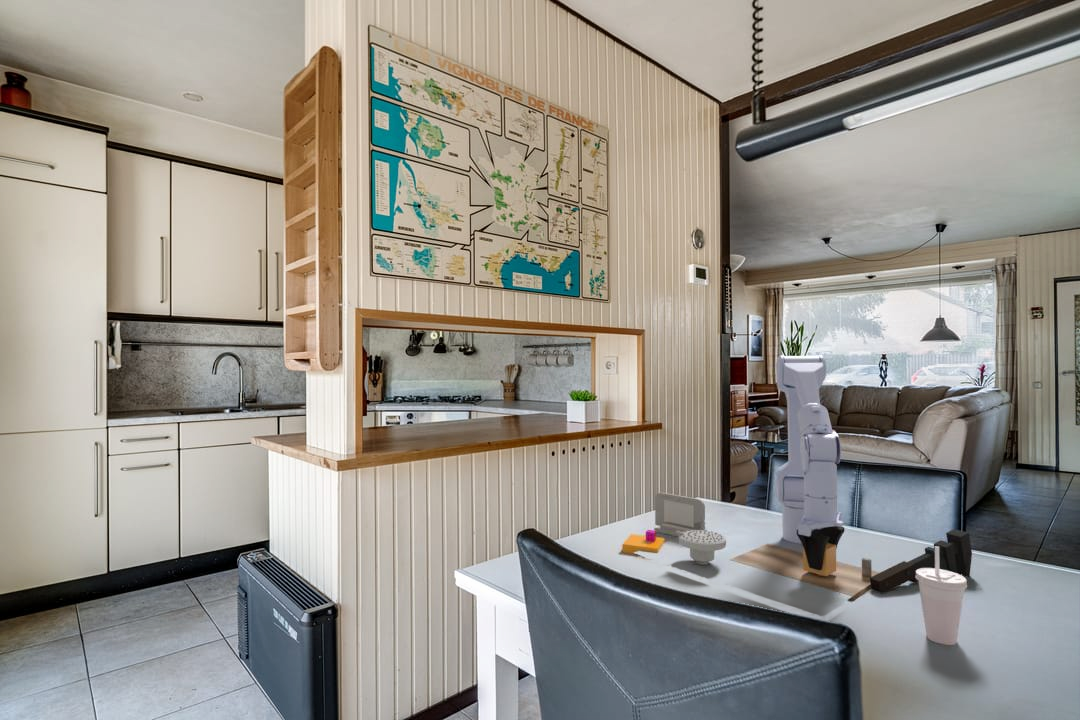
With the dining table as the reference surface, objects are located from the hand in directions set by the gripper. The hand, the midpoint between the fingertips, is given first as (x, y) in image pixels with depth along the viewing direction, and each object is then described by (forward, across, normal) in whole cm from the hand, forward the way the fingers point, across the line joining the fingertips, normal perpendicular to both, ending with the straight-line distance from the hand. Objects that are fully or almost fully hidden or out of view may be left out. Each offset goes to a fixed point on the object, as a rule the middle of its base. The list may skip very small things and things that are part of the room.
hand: (820, 565), depth 107 cm
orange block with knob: (+3, -12, +34) cm, 36 cm away
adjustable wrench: (+3, +14, -13) cm, 19 cm away
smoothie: (+3, -10, -22) cm, 24 cm away
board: (+3, +2, +4) cm, 5 cm away
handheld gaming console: (+3, +6, +35) cm, 35 cm away
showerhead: (+3, -12, +19) cm, 23 cm away
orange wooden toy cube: (+1, 0, 0) cm, 1 cm away
